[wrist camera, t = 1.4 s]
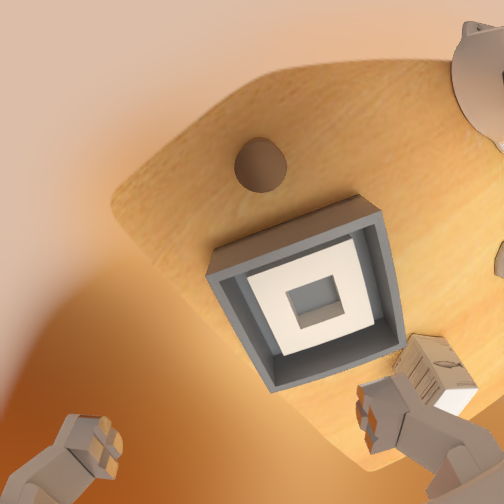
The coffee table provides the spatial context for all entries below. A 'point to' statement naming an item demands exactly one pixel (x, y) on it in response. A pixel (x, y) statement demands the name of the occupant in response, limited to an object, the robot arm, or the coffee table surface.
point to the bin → (312, 294)
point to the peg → (260, 165)
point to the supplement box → (436, 373)
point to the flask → (500, 262)
